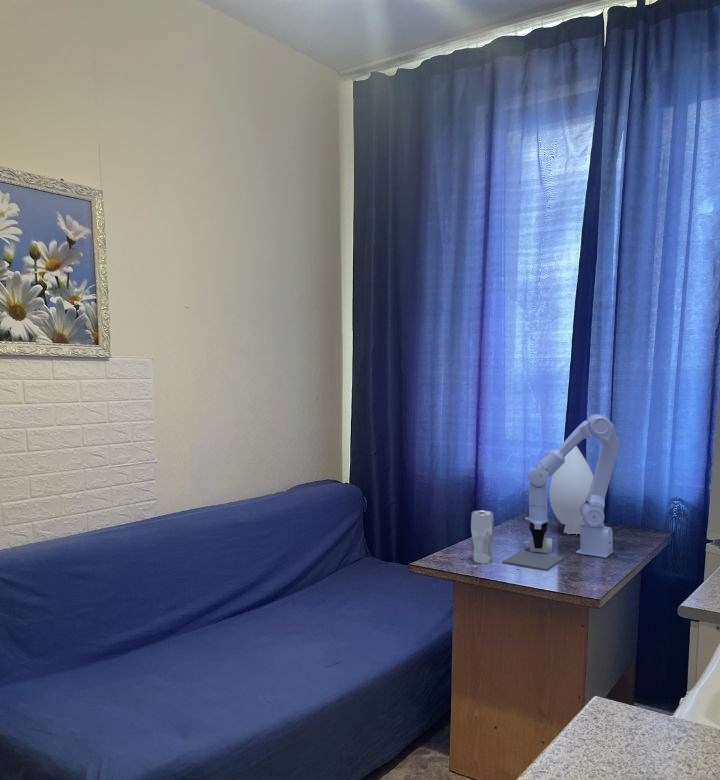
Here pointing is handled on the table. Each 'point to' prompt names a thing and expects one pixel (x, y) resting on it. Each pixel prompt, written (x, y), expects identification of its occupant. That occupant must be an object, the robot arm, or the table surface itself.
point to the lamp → (570, 490)
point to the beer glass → (482, 536)
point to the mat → (533, 560)
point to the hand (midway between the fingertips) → (538, 546)
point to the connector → (545, 547)
